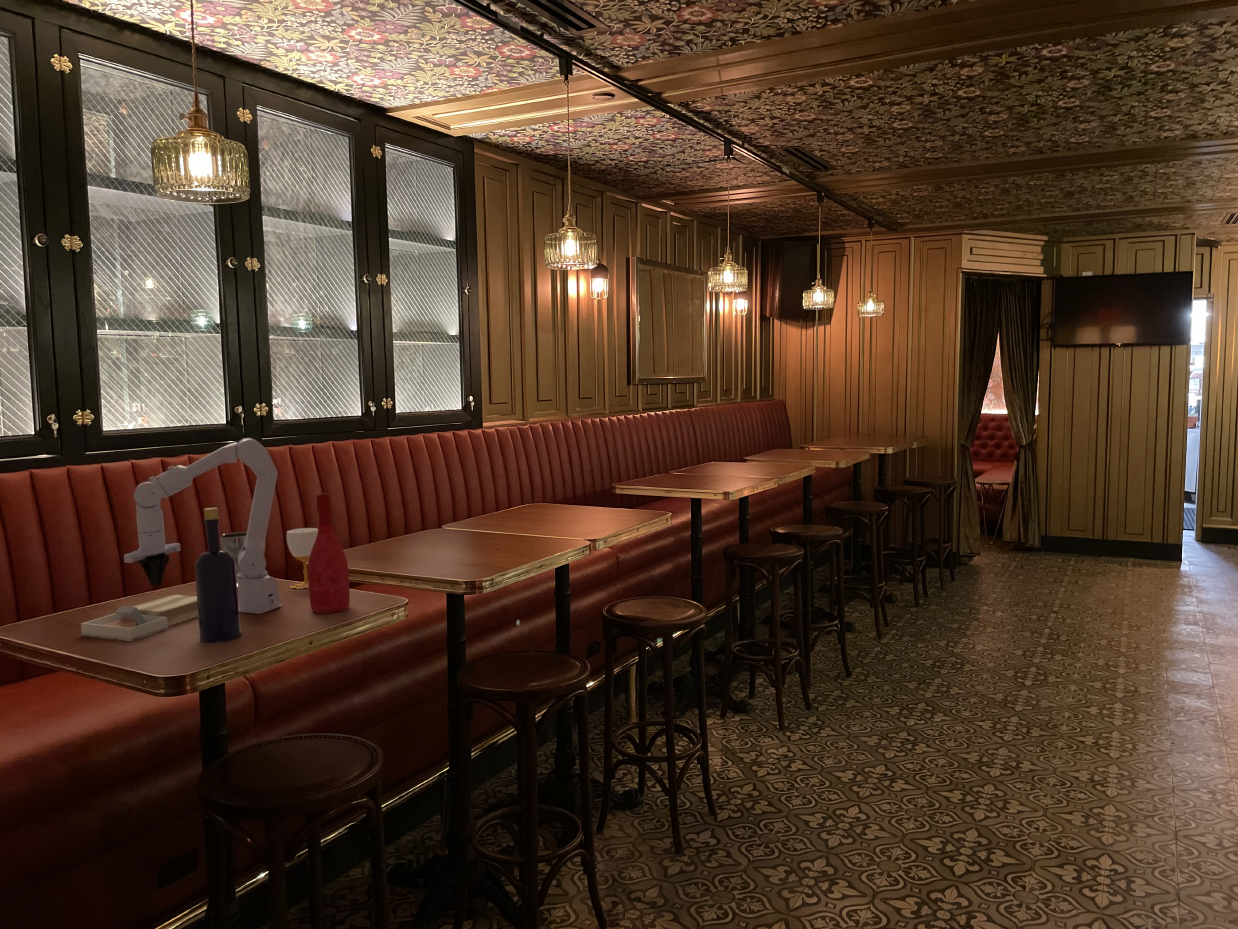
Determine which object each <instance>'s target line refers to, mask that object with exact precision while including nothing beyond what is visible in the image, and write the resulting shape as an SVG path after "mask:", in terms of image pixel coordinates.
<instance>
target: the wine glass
mask: <svg viewBox="0 0 1238 929" xmlns="http://www.w3.org/2000/svg"><path fill="white" fill-rule="evenodd" d="M246 534H247V531H246V532H245V531H240V532H239V531H238V532H228V533H223V534H221V535H219V540H220V547H221V550H222V551H228V552H229V553H230V554H231V555H232V556H233V557H234V558H235V567H236V575H237V574H239V573H240V571H241V570H240V567H239V565H238V563H237V556H238V554H239V552H240V551H241V550H242V548H243V545H244V541H245V538H246ZM237 587H238V581H237Z"/></svg>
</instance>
